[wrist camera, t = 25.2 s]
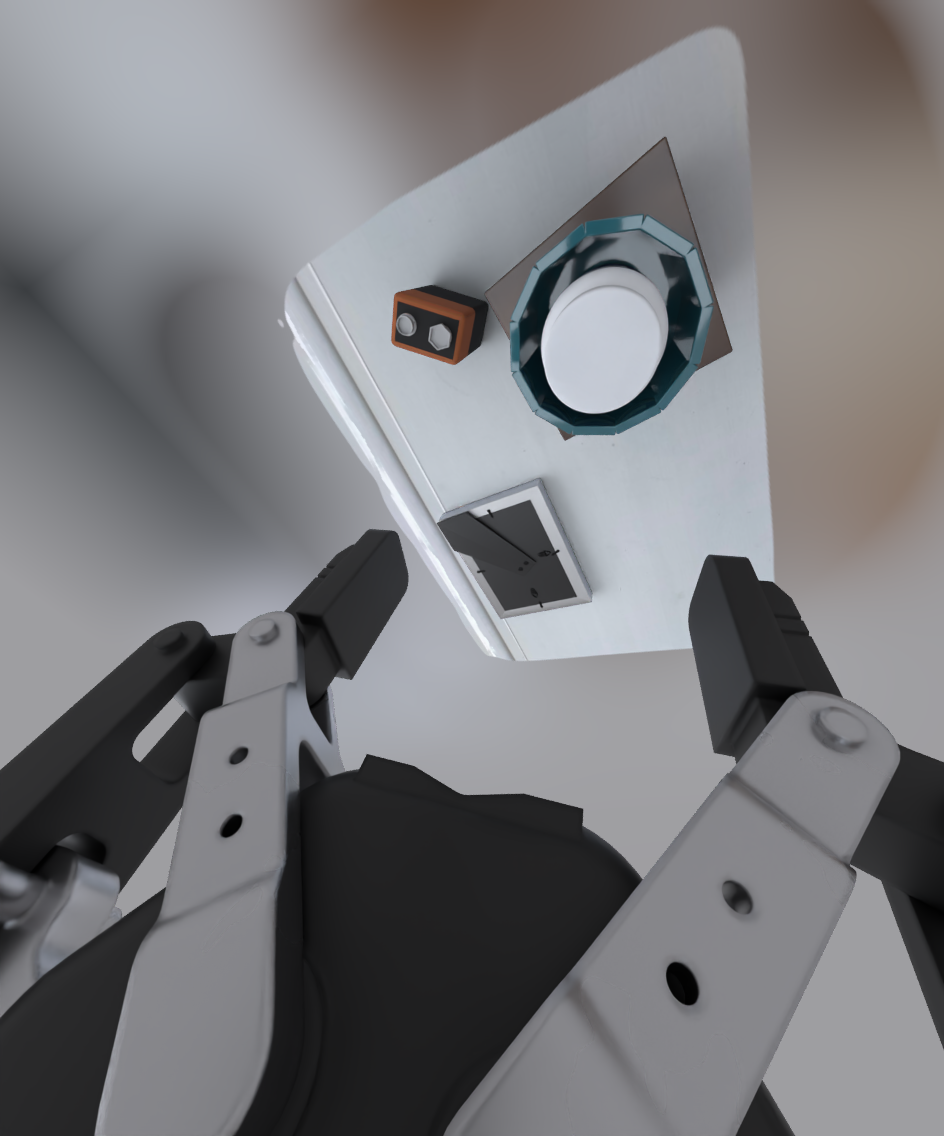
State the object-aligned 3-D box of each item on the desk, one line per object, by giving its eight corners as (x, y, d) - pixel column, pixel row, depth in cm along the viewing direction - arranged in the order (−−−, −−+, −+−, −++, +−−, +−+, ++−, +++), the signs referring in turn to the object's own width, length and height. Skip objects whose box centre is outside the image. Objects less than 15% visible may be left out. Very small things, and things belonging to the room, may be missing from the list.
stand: (528, 276, 38) (483, 293, 25) (643, 181, 32) (665, 135, 19) (579, 379, 42) (564, 441, 29) (688, 312, 36) (733, 351, 23)
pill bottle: (660, 355, 24) (683, 405, 16) (567, 386, 26) (549, 441, 19) (649, 241, 21) (670, 239, 13) (545, 288, 23) (513, 308, 16)
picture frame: (443, 513, 58) (503, 610, 68) (436, 523, 56) (499, 622, 66) (539, 477, 51) (592, 593, 60) (536, 487, 49) (591, 605, 58)
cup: (505, 298, 24) (476, 312, 19) (652, 176, 20) (666, 151, 14) (570, 422, 28) (561, 462, 23) (709, 345, 23) (737, 374, 18)
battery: (480, 348, 43) (453, 369, 36) (423, 329, 43) (385, 347, 36) (490, 302, 40) (463, 315, 33) (429, 283, 41) (388, 291, 33)
